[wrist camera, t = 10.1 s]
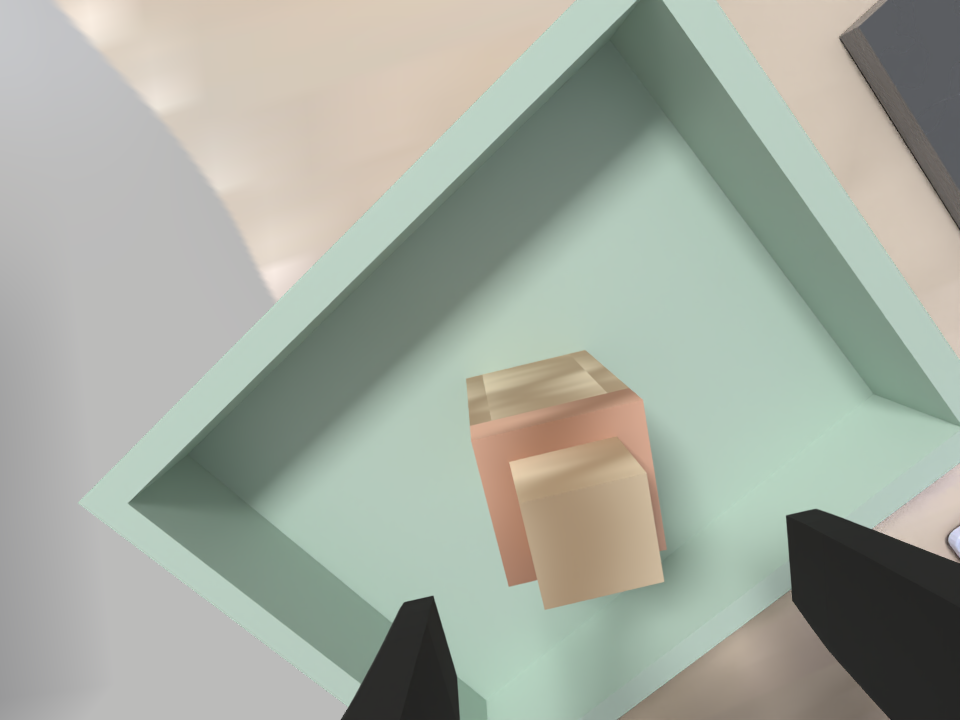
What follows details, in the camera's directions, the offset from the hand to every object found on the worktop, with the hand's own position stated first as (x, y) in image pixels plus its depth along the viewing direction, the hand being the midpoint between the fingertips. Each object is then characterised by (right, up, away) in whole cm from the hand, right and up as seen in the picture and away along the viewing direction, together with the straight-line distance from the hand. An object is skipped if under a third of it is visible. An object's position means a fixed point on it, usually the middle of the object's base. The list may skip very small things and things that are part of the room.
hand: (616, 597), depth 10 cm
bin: (-1, +3, +9) cm, 9 cm away
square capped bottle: (-1, +3, +8) cm, 9 cm away
